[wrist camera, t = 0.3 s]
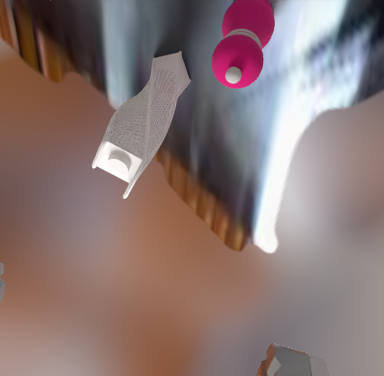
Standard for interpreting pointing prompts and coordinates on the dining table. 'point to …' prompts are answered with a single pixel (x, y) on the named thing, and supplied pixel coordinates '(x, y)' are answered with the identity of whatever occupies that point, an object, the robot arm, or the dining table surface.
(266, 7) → the pepper mill
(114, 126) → the skyscraper
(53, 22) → the dining table surface
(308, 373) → the robot arm
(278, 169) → the dining table surface
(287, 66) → the dining table surface
